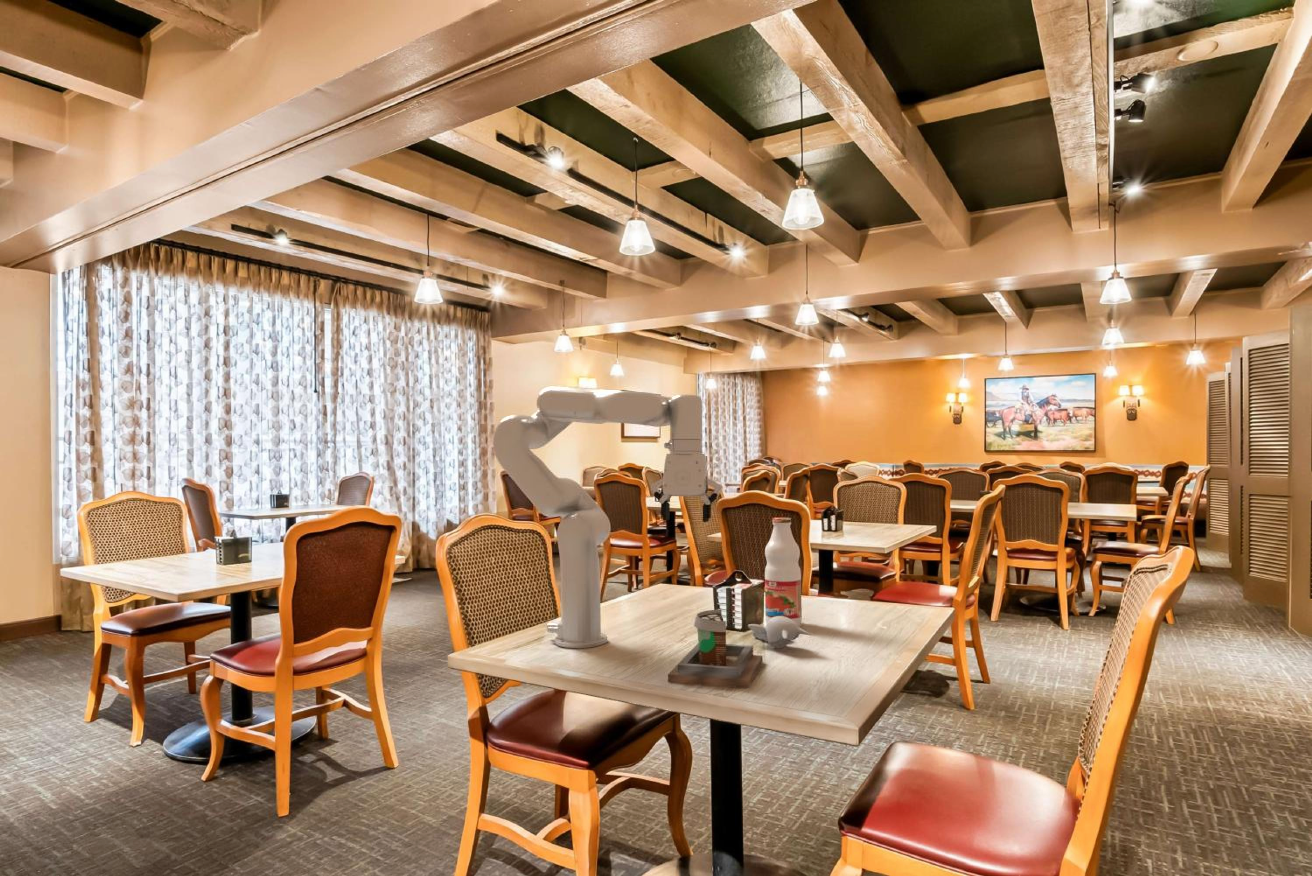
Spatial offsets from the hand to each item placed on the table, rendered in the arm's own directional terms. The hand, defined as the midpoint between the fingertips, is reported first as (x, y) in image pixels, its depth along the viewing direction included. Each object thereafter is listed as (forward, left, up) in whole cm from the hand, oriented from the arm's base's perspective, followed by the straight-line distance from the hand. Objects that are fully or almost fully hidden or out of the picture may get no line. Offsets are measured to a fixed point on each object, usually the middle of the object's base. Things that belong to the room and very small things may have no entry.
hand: (685, 520), depth 170 cm
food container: (+9, -17, -28) cm, 34 cm away
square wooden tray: (+11, -17, -30) cm, 36 cm away
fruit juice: (+19, +29, -30) cm, 46 cm away
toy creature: (+20, +6, -30) cm, 37 cm away
